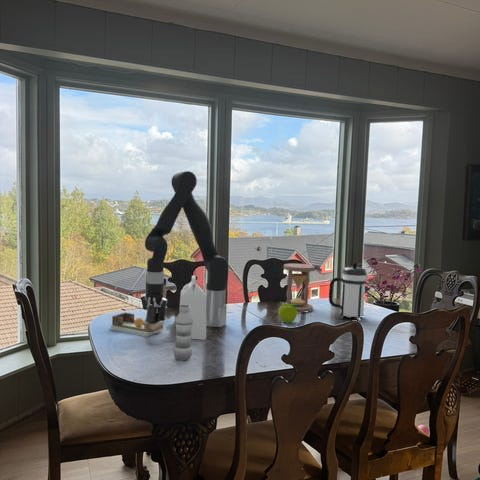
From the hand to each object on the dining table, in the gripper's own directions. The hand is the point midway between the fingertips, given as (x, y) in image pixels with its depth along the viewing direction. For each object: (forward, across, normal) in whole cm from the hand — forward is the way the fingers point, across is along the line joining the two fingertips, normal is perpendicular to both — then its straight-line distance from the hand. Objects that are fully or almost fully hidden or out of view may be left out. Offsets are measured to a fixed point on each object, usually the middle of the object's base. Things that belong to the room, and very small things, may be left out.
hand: (153, 320), depth 204 cm
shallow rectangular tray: (+6, +9, 0) cm, 11 cm away
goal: (+4, +17, 0) cm, 17 cm away
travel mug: (+6, +12, -20) cm, 24 cm away
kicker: (+4, 0, 0) cm, 4 cm away
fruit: (+6, -44, -52) cm, 68 cm away
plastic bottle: (+6, -29, +22) cm, 37 cm away
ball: (+2, +8, 0) cm, 8 cm away
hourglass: (+6, -39, -83) cm, 92 cm away
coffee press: (+6, -69, -80) cm, 106 cm away
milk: (+6, -16, -6) cm, 18 cm away
